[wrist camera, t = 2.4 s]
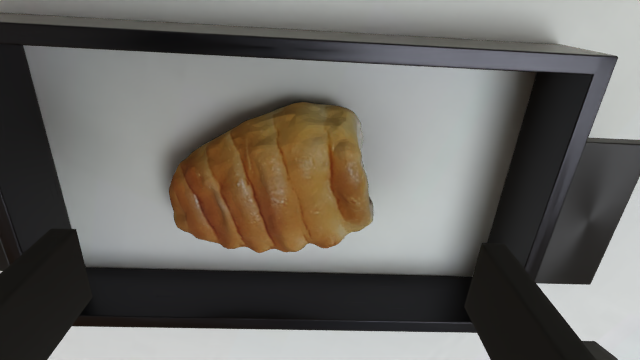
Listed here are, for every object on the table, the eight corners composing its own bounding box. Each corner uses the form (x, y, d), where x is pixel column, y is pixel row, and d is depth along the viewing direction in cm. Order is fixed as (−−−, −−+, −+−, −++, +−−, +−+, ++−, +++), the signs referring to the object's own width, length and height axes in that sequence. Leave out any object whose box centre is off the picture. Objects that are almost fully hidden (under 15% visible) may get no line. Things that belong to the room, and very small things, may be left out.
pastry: (205, 248, 21) (184, 298, 17) (153, 131, 18) (116, 163, 14) (377, 210, 20) (391, 255, 17) (351, 82, 17) (362, 104, 14)
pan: (19, 275, 21) (-31, 325, 18) (-75, 8, 15) (-173, 12, 12) (531, 287, 23) (568, 334, 20) (621, 47, 17) (693, 60, 14)
